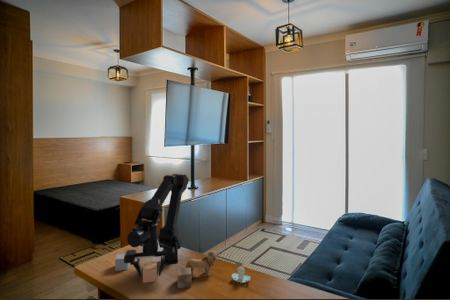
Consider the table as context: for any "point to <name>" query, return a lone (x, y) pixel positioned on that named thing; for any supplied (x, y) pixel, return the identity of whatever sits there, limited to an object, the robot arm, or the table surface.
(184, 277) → the walnut block
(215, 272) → the table surface
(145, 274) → the terracotta block
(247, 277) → the pacifier
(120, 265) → the slate grey block
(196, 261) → the lion figurine
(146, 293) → the table surface
